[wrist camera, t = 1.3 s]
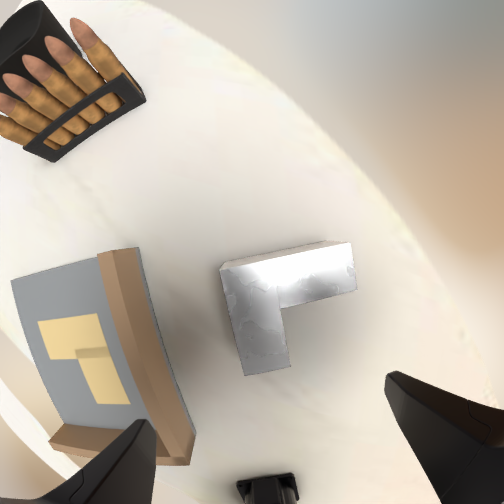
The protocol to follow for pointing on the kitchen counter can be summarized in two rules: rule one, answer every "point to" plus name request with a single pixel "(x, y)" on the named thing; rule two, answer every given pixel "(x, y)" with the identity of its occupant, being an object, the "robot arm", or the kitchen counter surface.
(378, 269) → the kitchen counter surface
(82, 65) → the ammunition clip
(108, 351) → the arena
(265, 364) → the angle bracket
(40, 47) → the pen holder
